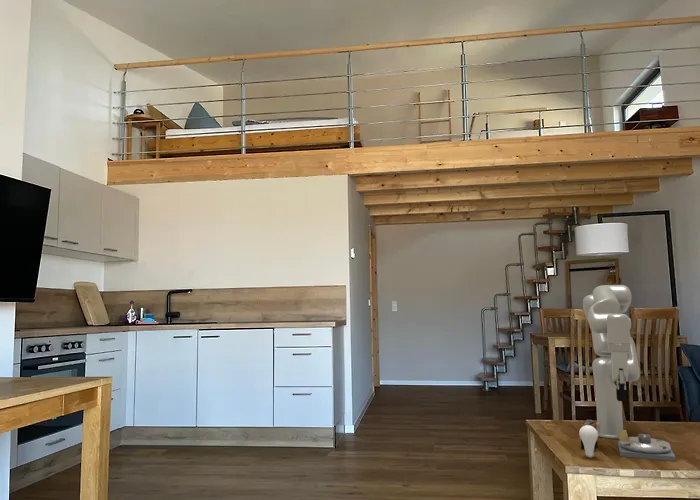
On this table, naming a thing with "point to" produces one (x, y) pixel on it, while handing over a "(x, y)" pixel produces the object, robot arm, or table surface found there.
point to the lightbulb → (588, 439)
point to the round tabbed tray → (643, 443)
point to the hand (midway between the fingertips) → (621, 399)
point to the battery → (592, 426)
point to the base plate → (646, 454)
